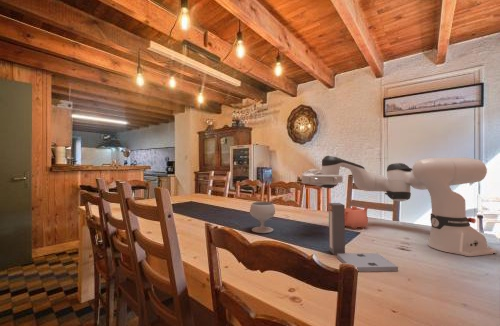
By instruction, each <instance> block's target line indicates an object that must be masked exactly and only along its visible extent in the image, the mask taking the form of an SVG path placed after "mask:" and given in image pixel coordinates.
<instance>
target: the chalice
mask: <svg viewBox="0 0 500 326" xmlns="http://www.w3.org/2000/svg"><path fill="white" fill-rule="evenodd" d="M249 213H250V216H251V217H253V218H254V219H256V220H258V221H259V222H260V226H255V227H253V228H251V232H253V233H258V234H267V233H272V232H274V228H273V227H270V226H265V222H266V221H267V220H270V219H271V218H273V217H274V216H275V214H276V209H275V205H274V203H273V202H271V201H270V202H269V201H255V202H252V203H251V205H250V208H249Z"/></svg>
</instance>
